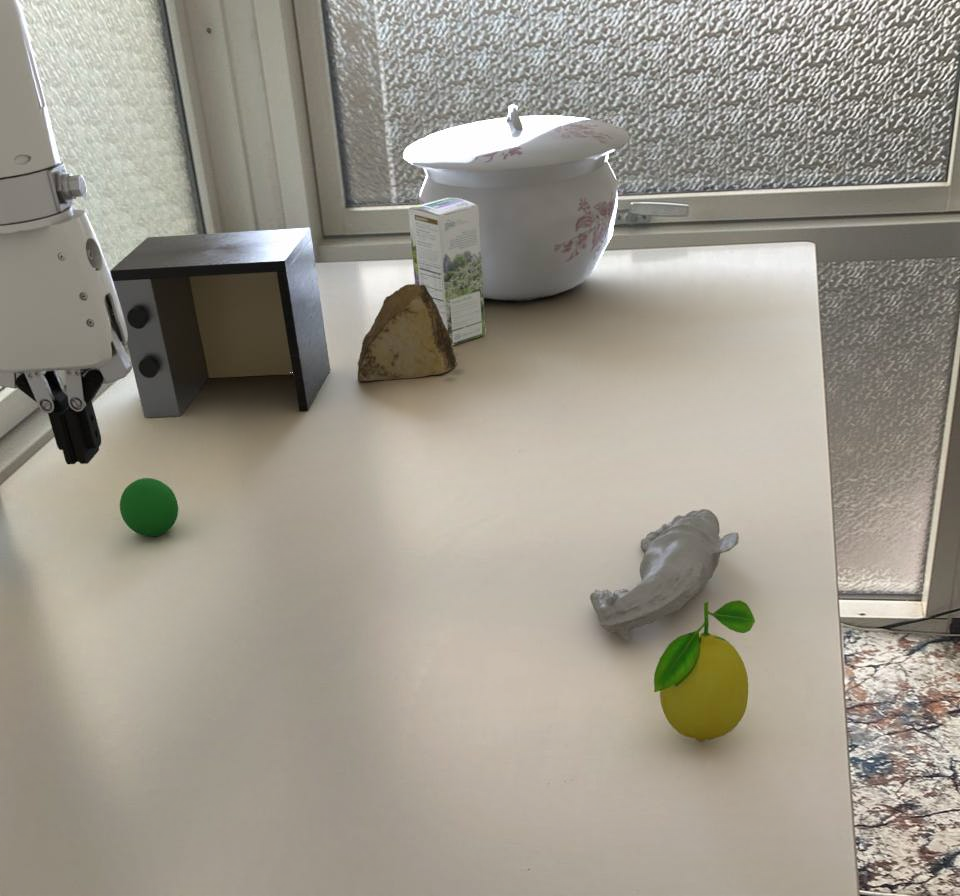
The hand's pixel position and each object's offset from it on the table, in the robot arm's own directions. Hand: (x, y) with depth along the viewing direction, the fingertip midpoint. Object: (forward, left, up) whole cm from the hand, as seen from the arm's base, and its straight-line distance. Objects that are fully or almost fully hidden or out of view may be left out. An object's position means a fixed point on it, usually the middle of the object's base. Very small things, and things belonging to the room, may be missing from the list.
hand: (83, 457), depth 103 cm
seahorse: (+44, -2, -12) cm, 46 cm away
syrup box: (+21, +63, -12) cm, 68 cm away
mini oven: (-1, +47, -12) cm, 49 cm away
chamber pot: (+28, +83, -12) cm, 88 cm away
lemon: (+47, -23, -12) cm, 53 cm away
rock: (+17, +51, -12) cm, 55 cm away
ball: (0, +11, -9) cm, 14 cm away
